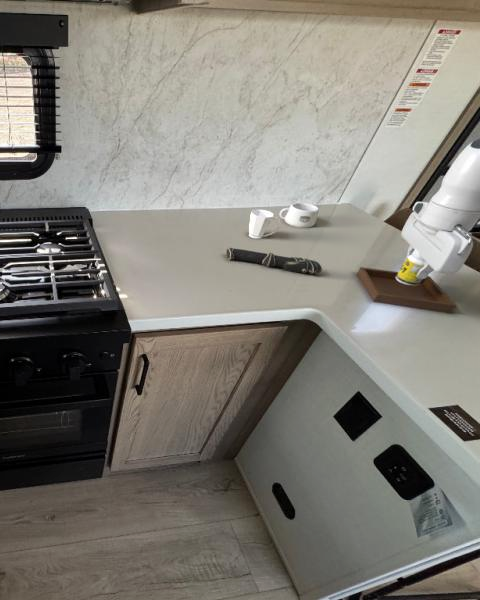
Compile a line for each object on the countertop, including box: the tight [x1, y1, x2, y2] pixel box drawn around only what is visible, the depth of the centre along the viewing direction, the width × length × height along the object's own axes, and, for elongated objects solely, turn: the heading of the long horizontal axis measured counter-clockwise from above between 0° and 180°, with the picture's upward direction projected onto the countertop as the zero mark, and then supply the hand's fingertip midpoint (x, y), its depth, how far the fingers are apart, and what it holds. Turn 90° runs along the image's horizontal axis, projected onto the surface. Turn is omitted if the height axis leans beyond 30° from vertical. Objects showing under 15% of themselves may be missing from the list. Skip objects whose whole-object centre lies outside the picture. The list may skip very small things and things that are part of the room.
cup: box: [248, 209, 282, 240], centre depth 113 cm, size 7×10×8 cm
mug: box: [278, 202, 320, 228], centre depth 123 cm, size 12×10×6 cm
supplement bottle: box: [396, 249, 425, 286], centre depth 84 cm, size 5×5×8 cm
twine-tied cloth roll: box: [225, 247, 323, 274], centre depth 99 cm, size 4×5×25 cm
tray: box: [356, 266, 457, 314], centre depth 88 cm, size 16×14×2 cm
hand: (413, 270), depth 84 cm, fingers closed on supplement bottle, 5 cm apart
